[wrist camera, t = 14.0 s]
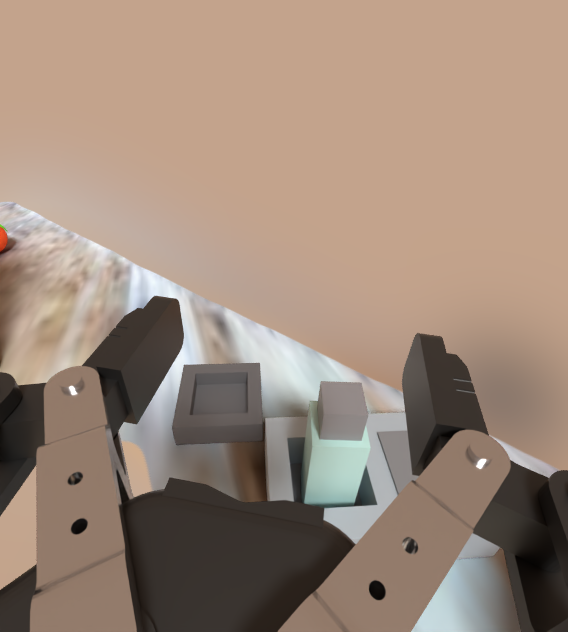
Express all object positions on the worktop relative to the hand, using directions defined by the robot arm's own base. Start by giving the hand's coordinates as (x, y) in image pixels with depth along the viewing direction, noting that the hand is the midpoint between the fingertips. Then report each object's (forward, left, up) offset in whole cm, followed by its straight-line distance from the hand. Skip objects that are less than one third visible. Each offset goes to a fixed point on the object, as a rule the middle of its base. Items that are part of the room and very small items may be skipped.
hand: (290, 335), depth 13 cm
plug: (+6, +9, -27) cm, 29 cm away
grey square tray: (-5, +21, -28) cm, 36 cm away
